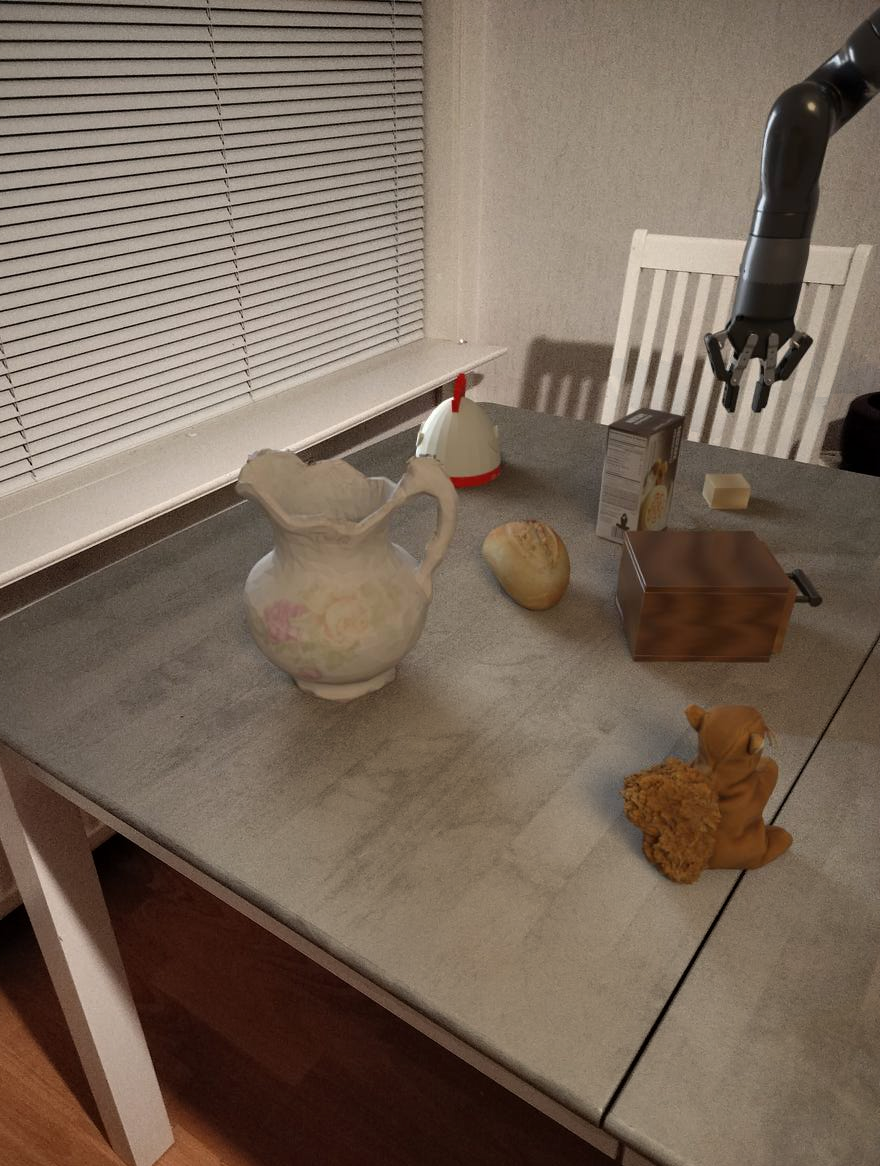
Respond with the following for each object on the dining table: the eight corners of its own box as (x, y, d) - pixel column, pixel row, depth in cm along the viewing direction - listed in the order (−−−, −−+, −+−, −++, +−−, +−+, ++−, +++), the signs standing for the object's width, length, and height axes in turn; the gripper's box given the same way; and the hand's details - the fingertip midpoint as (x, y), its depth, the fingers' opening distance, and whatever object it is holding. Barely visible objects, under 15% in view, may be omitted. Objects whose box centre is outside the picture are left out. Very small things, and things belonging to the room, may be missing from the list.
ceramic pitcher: (434, 621, 103) (429, 416, 90) (473, 711, 86) (473, 474, 74) (253, 642, 100) (223, 433, 88) (257, 739, 83) (221, 498, 71)
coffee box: (627, 513, 124) (643, 405, 114) (668, 526, 120) (687, 415, 111) (593, 536, 118) (607, 423, 109) (634, 550, 114) (652, 435, 105)
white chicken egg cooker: (505, 456, 142) (510, 366, 134) (494, 490, 131) (498, 394, 123) (424, 450, 145) (423, 362, 137) (406, 483, 134) (404, 389, 126)
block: (734, 505, 125) (741, 473, 122) (744, 520, 121) (751, 487, 118) (699, 505, 125) (706, 473, 123) (708, 520, 121) (715, 487, 118)
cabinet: (736, 601, 103) (753, 530, 98) (769, 662, 93) (790, 586, 87) (614, 601, 104) (624, 530, 98) (633, 661, 93) (645, 585, 88)
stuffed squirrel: (798, 845, 71) (841, 723, 64) (687, 929, 65) (720, 804, 57) (700, 778, 78) (728, 661, 71) (591, 848, 71) (609, 727, 64)
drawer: (785, 598, 102) (801, 540, 97) (820, 653, 92) (839, 591, 88) (635, 597, 103) (644, 539, 98) (654, 651, 93) (665, 590, 89)
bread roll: (532, 552, 114) (536, 497, 110) (587, 607, 103) (594, 549, 98) (466, 564, 112) (467, 509, 108) (514, 622, 100) (518, 563, 96)
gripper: (721, 281, 102) (696, 421, 112) (841, 279, 102) (805, 420, 111) (706, 268, 108) (683, 402, 118) (818, 267, 108) (786, 401, 118)
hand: (742, 410), depth 115 cm, fingers open, 3 cm apart
